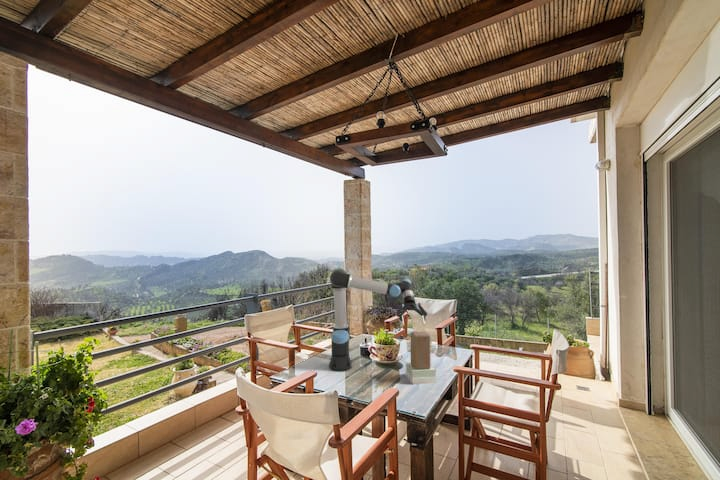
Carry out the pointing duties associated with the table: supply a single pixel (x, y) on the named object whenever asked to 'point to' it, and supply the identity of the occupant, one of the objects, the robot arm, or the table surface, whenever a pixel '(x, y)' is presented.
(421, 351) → the wooden block
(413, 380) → the tower base slab
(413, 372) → the tower top slab
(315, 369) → the table surface
